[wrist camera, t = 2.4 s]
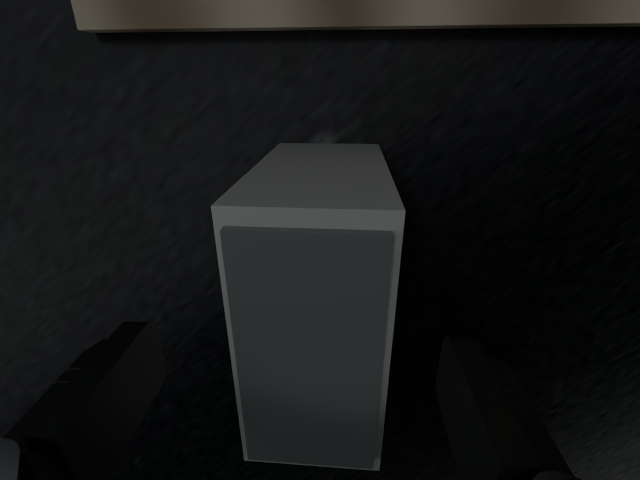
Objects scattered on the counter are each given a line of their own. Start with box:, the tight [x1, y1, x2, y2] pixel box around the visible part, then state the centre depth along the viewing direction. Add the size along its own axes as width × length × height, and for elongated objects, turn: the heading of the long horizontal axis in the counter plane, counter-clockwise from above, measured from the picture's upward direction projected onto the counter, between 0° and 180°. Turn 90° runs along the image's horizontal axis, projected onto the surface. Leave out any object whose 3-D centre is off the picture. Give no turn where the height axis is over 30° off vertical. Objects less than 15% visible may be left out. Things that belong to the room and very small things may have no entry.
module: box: [211, 143, 405, 471], centre depth 14 cm, size 4×9×9 cm, turn 0°
